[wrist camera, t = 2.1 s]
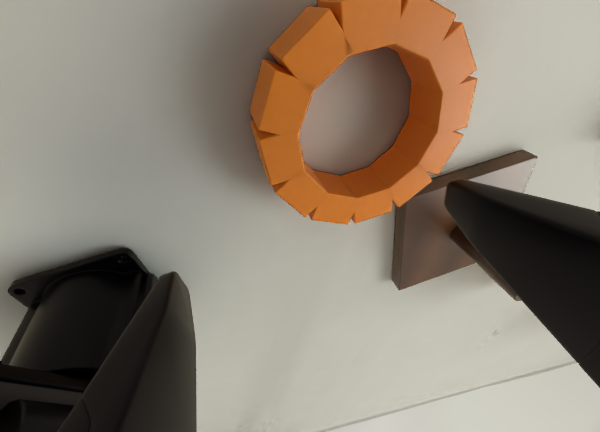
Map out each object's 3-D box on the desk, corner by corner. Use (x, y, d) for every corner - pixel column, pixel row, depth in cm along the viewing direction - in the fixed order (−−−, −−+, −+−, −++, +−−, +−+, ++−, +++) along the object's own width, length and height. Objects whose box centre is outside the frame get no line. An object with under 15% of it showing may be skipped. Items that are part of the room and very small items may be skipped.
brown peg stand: (391, 280, 26) (444, 356, 21) (396, 189, 20) (473, 265, 14) (489, 245, 27) (563, 309, 22) (523, 149, 21) (640, 204, 15)
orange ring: (277, 219, 19) (287, 246, 17) (221, 22, 12) (226, 27, 10) (428, 171, 20) (454, 191, 18) (454, -33, 13) (501, -37, 11)
